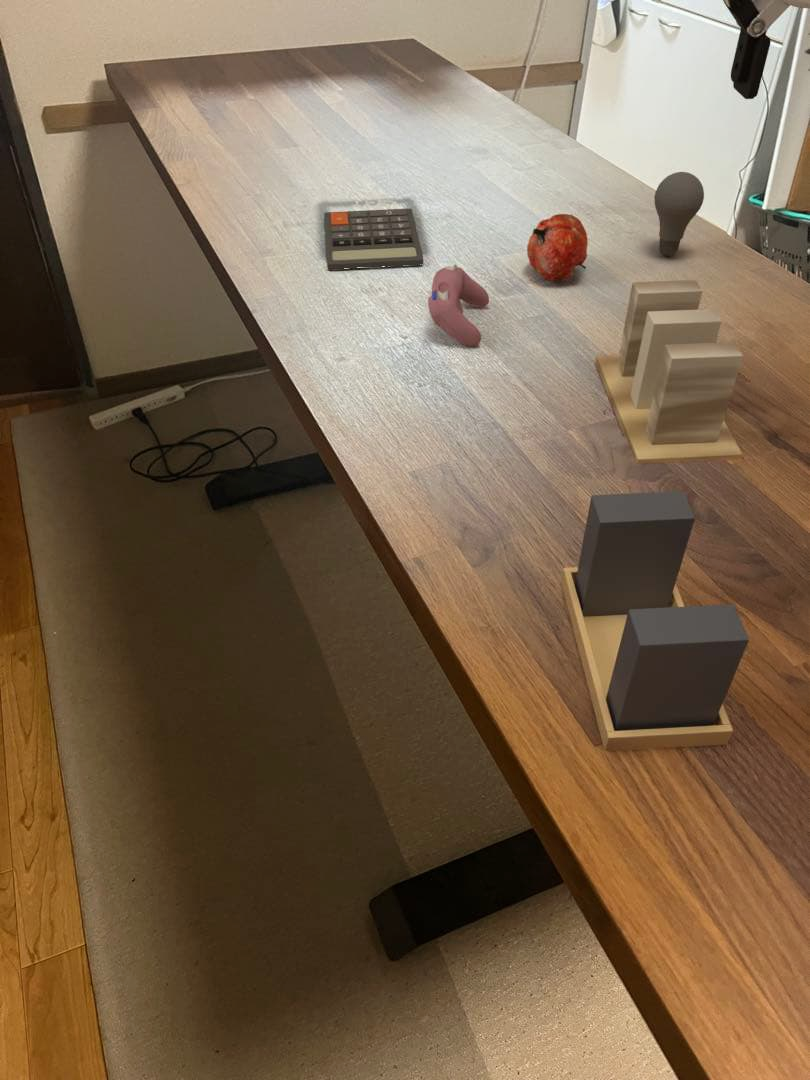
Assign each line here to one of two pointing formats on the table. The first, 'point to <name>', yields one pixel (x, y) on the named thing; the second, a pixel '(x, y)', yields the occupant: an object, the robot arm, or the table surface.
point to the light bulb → (676, 208)
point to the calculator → (371, 239)
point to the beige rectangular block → (665, 332)
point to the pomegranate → (558, 247)
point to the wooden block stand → (673, 385)
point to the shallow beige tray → (598, 659)
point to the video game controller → (456, 303)
